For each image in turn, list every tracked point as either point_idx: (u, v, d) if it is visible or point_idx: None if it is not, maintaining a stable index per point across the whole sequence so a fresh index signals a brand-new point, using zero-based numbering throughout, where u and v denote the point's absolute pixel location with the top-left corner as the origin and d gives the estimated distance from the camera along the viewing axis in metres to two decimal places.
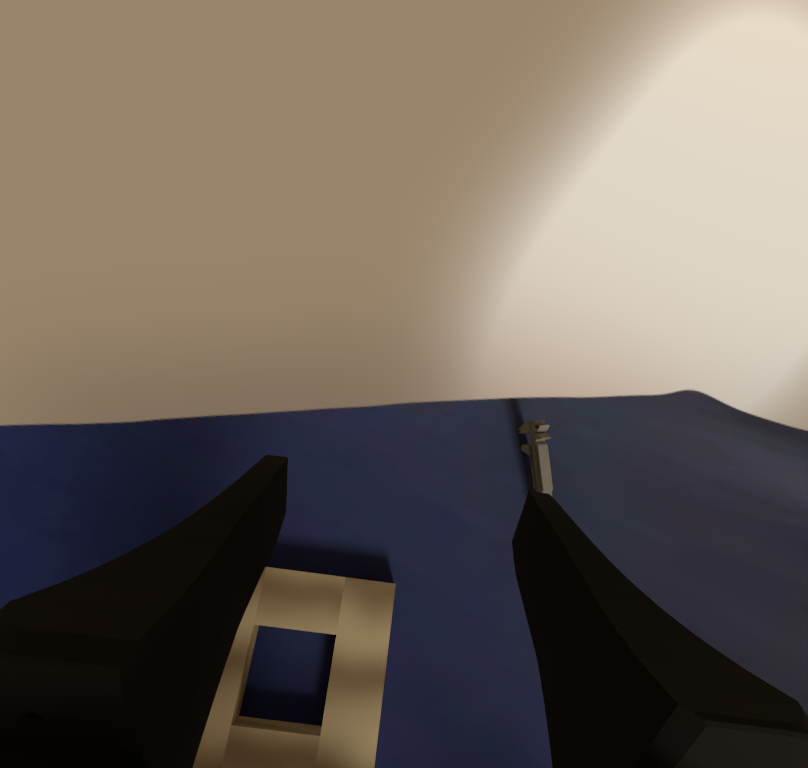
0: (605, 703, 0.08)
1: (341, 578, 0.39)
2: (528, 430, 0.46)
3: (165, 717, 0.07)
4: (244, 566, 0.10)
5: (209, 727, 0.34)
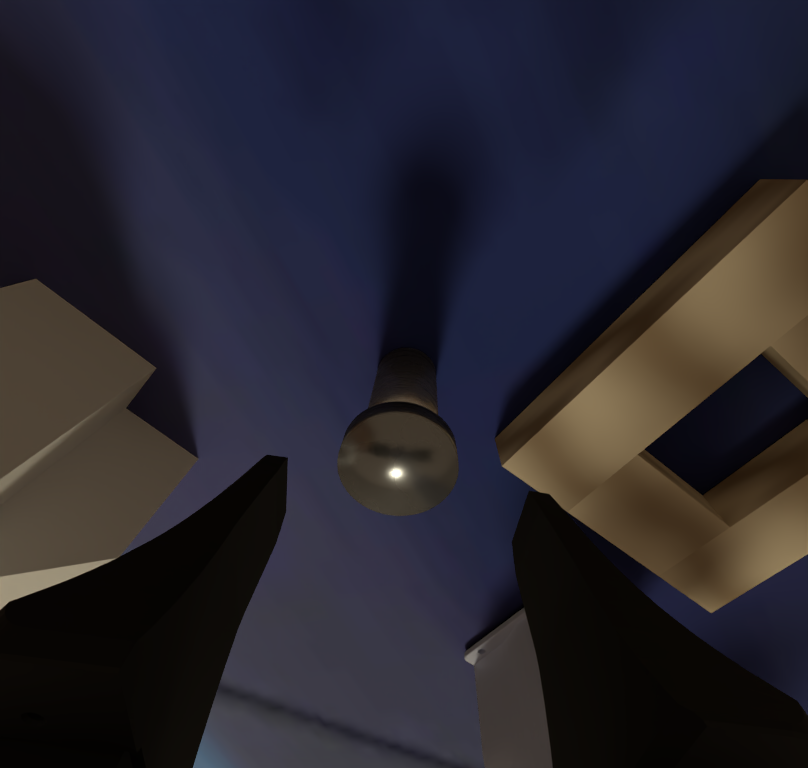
0: (605, 703, 0.08)
1: None
2: None
3: (165, 717, 0.07)
4: (244, 566, 0.10)
5: (609, 441, 0.21)
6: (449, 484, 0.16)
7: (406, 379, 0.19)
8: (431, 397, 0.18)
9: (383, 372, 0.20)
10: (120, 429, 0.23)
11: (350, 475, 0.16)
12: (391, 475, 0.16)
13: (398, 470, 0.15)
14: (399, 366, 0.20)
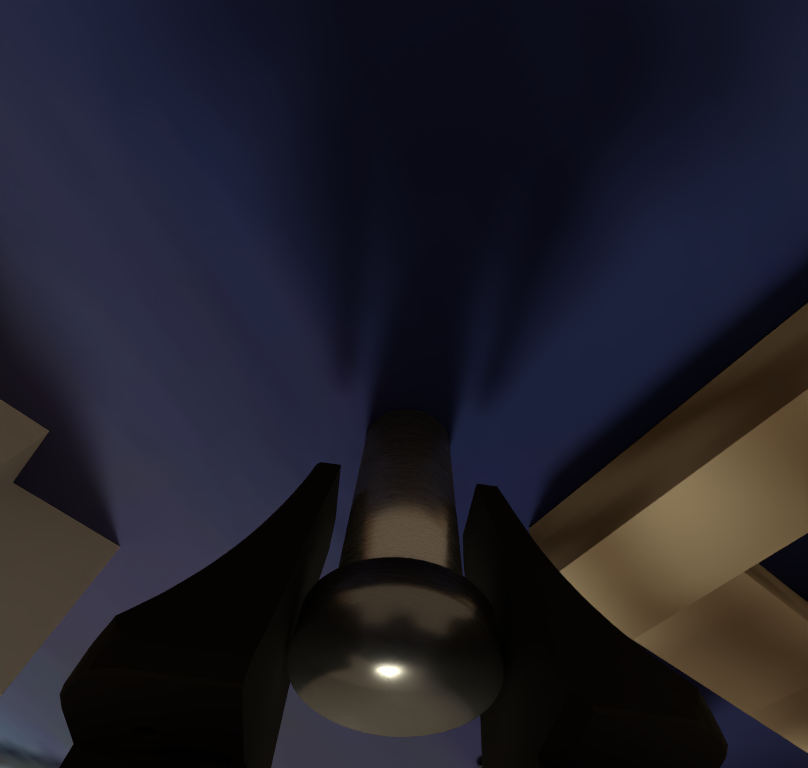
0: (520, 692, 0.08)
1: None
2: None
3: (260, 728, 0.07)
4: (309, 575, 0.10)
5: (706, 554, 0.14)
6: (486, 698, 0.09)
7: (409, 480, 0.12)
8: (448, 510, 0.12)
9: (373, 456, 0.13)
10: None
11: (310, 684, 0.09)
12: (383, 685, 0.09)
13: (395, 679, 0.09)
14: (398, 448, 0.13)
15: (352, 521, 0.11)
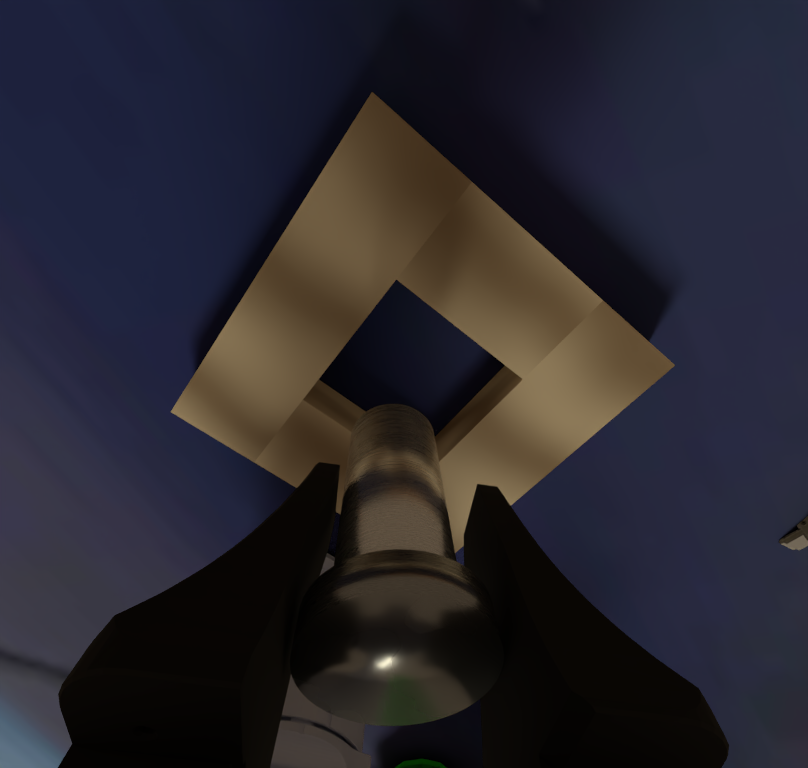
0: (521, 692, 0.08)
1: (595, 297, 0.18)
2: None
3: (258, 728, 0.07)
4: (308, 575, 0.10)
5: (269, 384, 0.20)
6: (487, 682, 0.09)
7: (400, 473, 0.12)
8: (439, 501, 0.12)
9: (361, 451, 0.13)
10: None
11: (314, 680, 0.09)
12: (386, 676, 0.09)
13: (399, 669, 0.09)
14: (387, 442, 0.13)
15: (345, 517, 0.11)
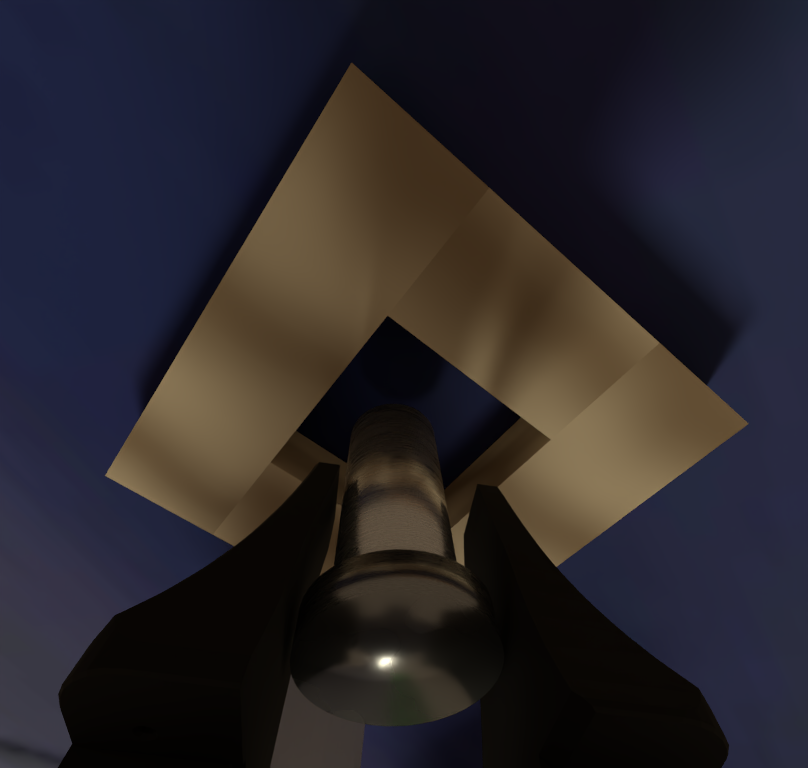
0: (521, 692, 0.08)
1: (649, 339, 0.14)
2: None
3: (259, 728, 0.07)
4: (308, 575, 0.10)
5: (227, 444, 0.16)
6: (487, 682, 0.09)
7: (400, 474, 0.12)
8: (440, 501, 0.12)
9: (361, 451, 0.13)
10: None
11: (314, 680, 0.09)
12: (386, 676, 0.09)
13: (399, 669, 0.09)
14: (387, 443, 0.13)
15: (345, 517, 0.11)
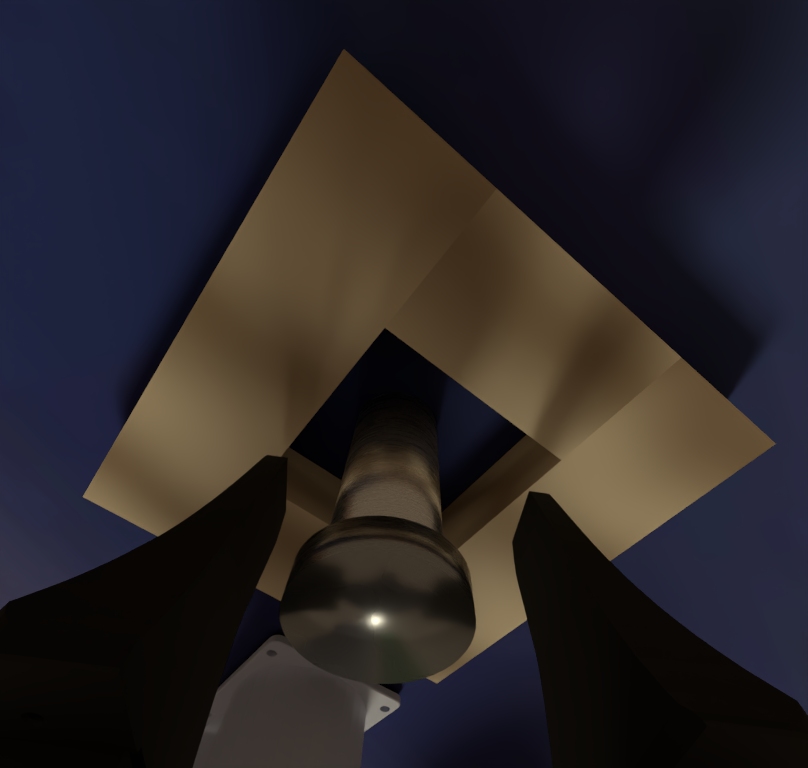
0: (605, 703, 0.08)
1: (670, 354, 0.12)
2: None
3: (165, 717, 0.07)
4: (244, 566, 0.10)
5: (213, 464, 0.15)
6: (461, 646, 0.10)
7: (395, 454, 0.13)
8: (431, 481, 0.12)
9: (362, 434, 0.14)
10: None
11: (301, 632, 0.10)
12: (367, 633, 0.10)
13: (378, 626, 0.10)
14: (386, 426, 0.14)
15: (341, 491, 0.12)
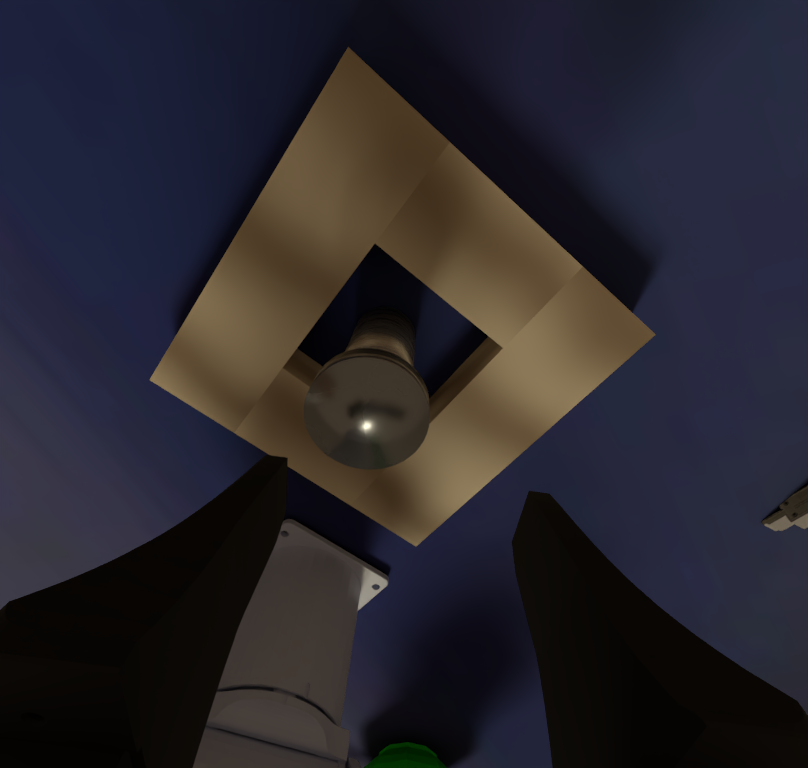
0: (605, 703, 0.08)
1: (574, 264, 0.18)
2: None
3: (165, 717, 0.07)
4: (244, 566, 0.10)
5: (248, 352, 0.20)
6: (420, 435, 0.15)
7: (381, 333, 0.18)
8: (406, 352, 0.18)
9: (358, 328, 0.19)
10: None
11: (317, 425, 0.15)
12: (360, 425, 0.15)
13: (367, 420, 0.15)
14: (375, 322, 0.19)
15: None
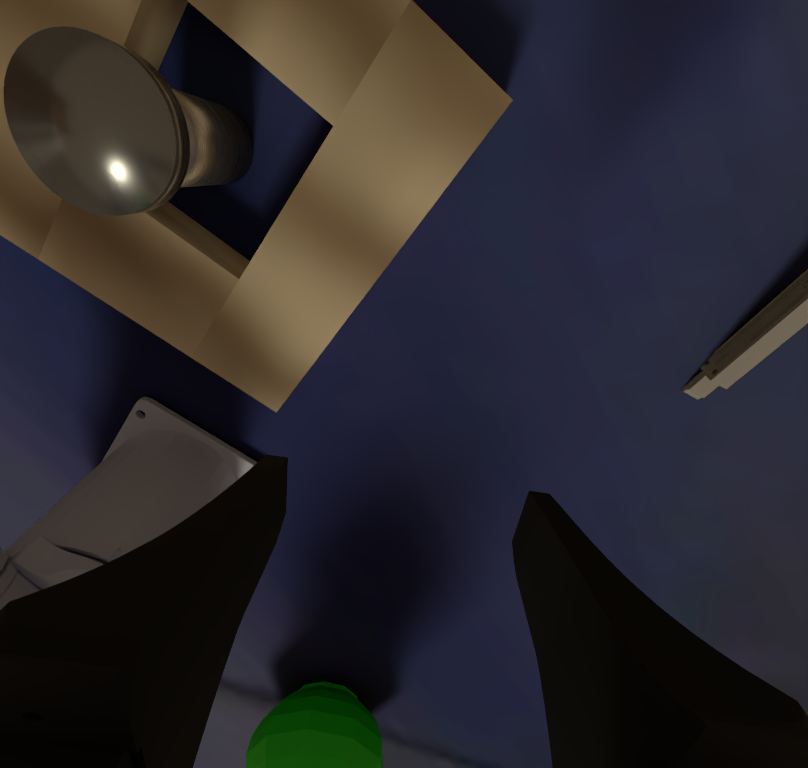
0: (605, 703, 0.08)
1: None
2: None
3: (165, 717, 0.07)
4: (244, 566, 0.10)
5: None
6: (165, 156, 0.12)
7: None
8: (194, 106, 0.14)
9: None
10: None
11: (29, 142, 0.12)
12: (84, 142, 0.12)
13: (91, 132, 0.11)
14: None
15: None
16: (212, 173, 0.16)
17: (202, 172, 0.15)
